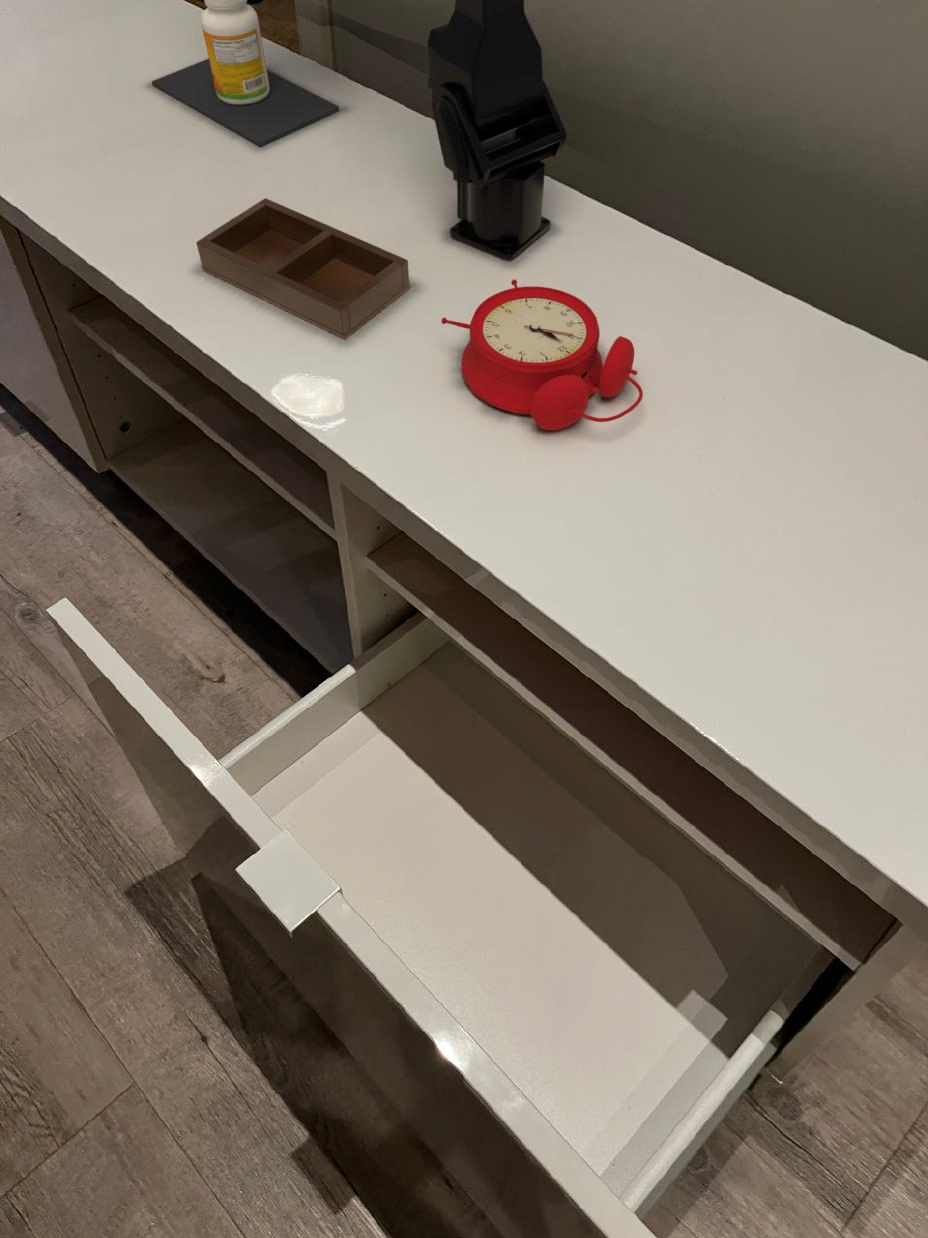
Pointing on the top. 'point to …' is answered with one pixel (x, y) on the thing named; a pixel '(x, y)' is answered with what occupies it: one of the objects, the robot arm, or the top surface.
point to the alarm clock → (542, 356)
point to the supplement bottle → (235, 51)
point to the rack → (304, 267)
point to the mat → (255, 121)
